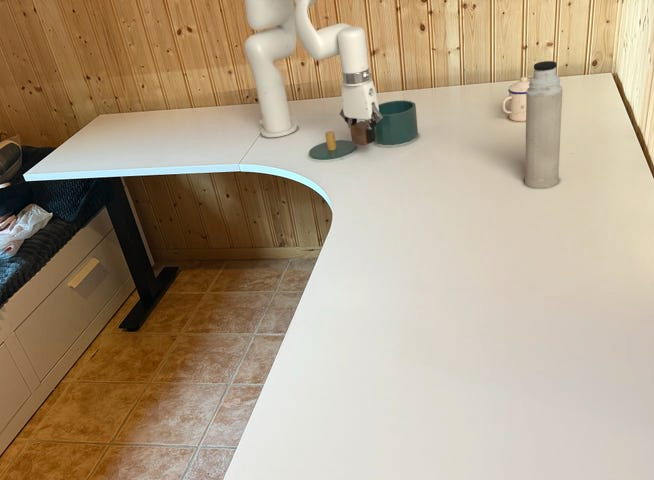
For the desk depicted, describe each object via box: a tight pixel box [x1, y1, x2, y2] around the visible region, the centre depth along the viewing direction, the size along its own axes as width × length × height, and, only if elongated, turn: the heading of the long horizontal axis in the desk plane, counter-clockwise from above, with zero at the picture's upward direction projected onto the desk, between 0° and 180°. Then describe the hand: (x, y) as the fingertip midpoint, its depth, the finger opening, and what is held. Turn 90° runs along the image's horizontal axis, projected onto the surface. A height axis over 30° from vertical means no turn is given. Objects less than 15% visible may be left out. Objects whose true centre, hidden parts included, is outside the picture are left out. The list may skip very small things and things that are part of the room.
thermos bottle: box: [524, 60, 563, 189], centre depth 158 cm, size 8×8×28 cm
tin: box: [373, 99, 419, 146], centre depth 204 cm, size 14×14×10 cm
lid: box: [308, 130, 357, 161], centre depth 204 cm, size 15×15×6 cm
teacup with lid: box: [501, 76, 530, 122], centre depth 202 cm, size 12×9×12 cm
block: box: [349, 120, 371, 146], centre depth 195 cm, size 5×5×5 cm
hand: (363, 140), depth 196 cm, fingers closed on block, 5 cm apart
